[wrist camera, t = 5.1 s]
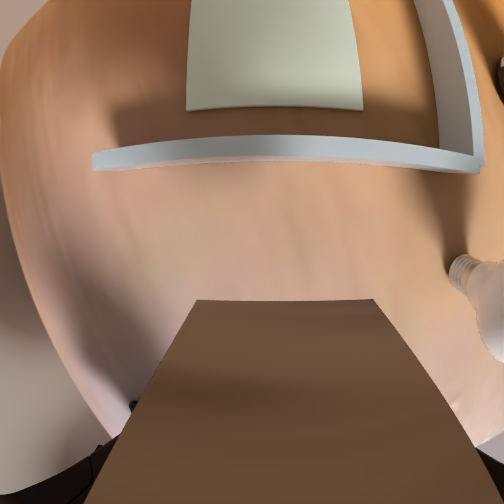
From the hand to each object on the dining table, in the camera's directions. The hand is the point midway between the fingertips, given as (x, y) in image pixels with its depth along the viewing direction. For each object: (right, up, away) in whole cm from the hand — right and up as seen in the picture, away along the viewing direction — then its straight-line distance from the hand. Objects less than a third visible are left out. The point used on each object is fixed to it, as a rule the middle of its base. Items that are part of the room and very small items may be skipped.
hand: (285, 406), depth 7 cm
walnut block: (0, 0, +1) cm, 2 cm away
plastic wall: (+2, +17, +8) cm, 19 cm away
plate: (0, +18, +8) cm, 20 cm away
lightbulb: (+15, +3, +11) cm, 18 cm away
